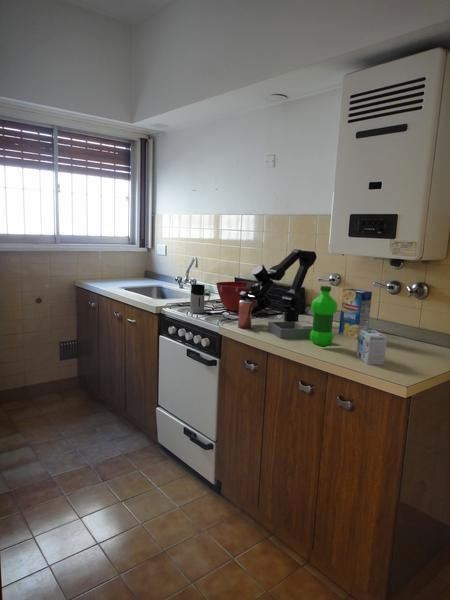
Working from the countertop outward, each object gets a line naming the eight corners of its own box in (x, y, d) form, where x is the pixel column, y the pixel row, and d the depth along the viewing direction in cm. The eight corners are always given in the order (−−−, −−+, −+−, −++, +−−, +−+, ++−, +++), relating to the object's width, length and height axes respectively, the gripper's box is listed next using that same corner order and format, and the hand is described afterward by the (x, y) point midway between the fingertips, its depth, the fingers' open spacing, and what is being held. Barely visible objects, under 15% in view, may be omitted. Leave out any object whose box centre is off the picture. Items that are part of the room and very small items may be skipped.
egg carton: (306, 331, 199) (306, 321, 198) (315, 336, 190) (316, 326, 189) (293, 331, 197) (294, 321, 196) (302, 336, 188) (303, 326, 188)
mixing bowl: (205, 307, 252) (206, 282, 249) (238, 304, 271) (240, 280, 269) (238, 316, 232) (239, 288, 229) (272, 311, 251) (274, 285, 248)
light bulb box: (355, 356, 165) (358, 329, 163) (372, 356, 165) (375, 329, 164) (367, 364, 154) (370, 335, 153) (384, 365, 155) (388, 336, 153)
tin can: (248, 325, 209) (250, 299, 207) (253, 328, 202) (254, 302, 200) (236, 326, 207) (237, 299, 205) (240, 329, 201) (241, 302, 199)
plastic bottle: (303, 342, 181) (308, 284, 177) (324, 341, 185) (329, 284, 181) (317, 349, 172) (322, 288, 168) (338, 347, 176) (344, 288, 172)
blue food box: (357, 341, 188) (362, 292, 185) (338, 335, 197) (342, 289, 194) (367, 339, 192) (372, 291, 189) (348, 334, 201) (352, 288, 198)
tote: (306, 331, 202) (307, 321, 201) (321, 339, 188) (322, 328, 187) (267, 332, 197) (268, 321, 196) (280, 340, 183) (280, 329, 182)
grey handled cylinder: (197, 309, 245) (198, 283, 243) (214, 313, 235) (215, 286, 233) (186, 310, 239) (186, 284, 236) (203, 315, 229) (204, 287, 227)
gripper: (243, 275, 211) (224, 297, 206) (268, 279, 197) (249, 304, 192) (254, 290, 217) (236, 312, 212) (279, 295, 203) (261, 319, 198)
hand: (245, 311), depth 203 cm, fingers open, 9 cm apart
